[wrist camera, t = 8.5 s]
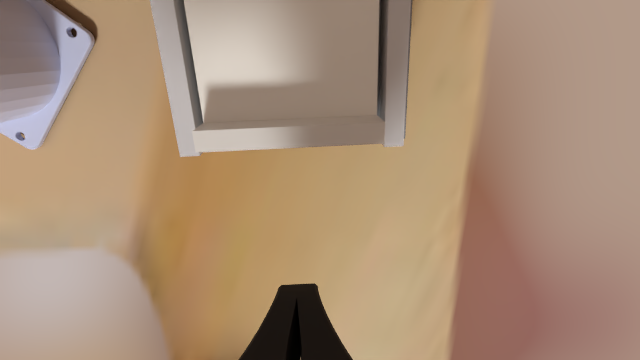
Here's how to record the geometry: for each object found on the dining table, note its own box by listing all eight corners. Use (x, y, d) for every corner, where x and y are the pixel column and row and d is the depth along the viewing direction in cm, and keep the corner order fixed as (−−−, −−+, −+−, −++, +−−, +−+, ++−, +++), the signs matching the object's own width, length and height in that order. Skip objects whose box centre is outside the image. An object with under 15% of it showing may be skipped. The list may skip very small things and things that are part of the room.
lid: (372, 130, 15) (384, 143, 13) (211, 137, 15) (195, 152, 12) (376, -60, 12) (391, -84, 10) (181, -54, 12) (155, -77, 10)
